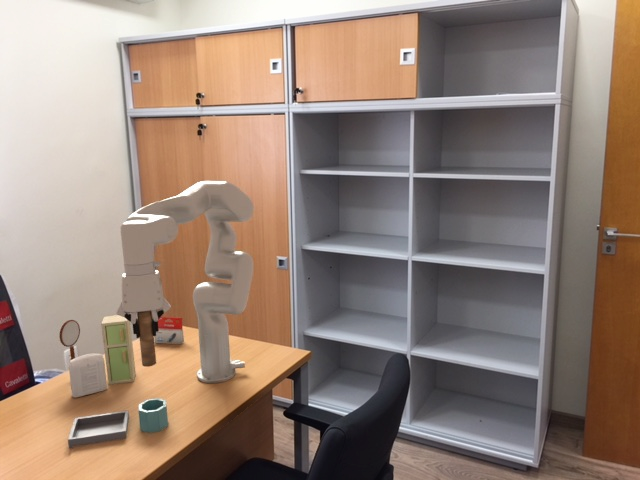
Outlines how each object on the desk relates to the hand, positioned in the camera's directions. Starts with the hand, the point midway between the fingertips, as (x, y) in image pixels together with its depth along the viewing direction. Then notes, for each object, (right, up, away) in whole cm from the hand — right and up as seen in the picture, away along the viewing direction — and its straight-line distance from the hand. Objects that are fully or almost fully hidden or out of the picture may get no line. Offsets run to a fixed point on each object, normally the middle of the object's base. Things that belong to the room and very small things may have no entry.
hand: (146, 334), depth 144 cm
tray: (-13, -27, +3) cm, 30 cm away
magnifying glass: (-35, -21, +36) cm, 54 cm away
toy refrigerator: (-19, -21, +34) cm, 44 cm away
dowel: (0, -8, +2) cm, 8 cm away
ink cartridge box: (-12, -14, +64) cm, 67 cm away
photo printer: (-26, -23, +26) cm, 43 cm away
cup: (+1, -26, +5) cm, 27 cm away
